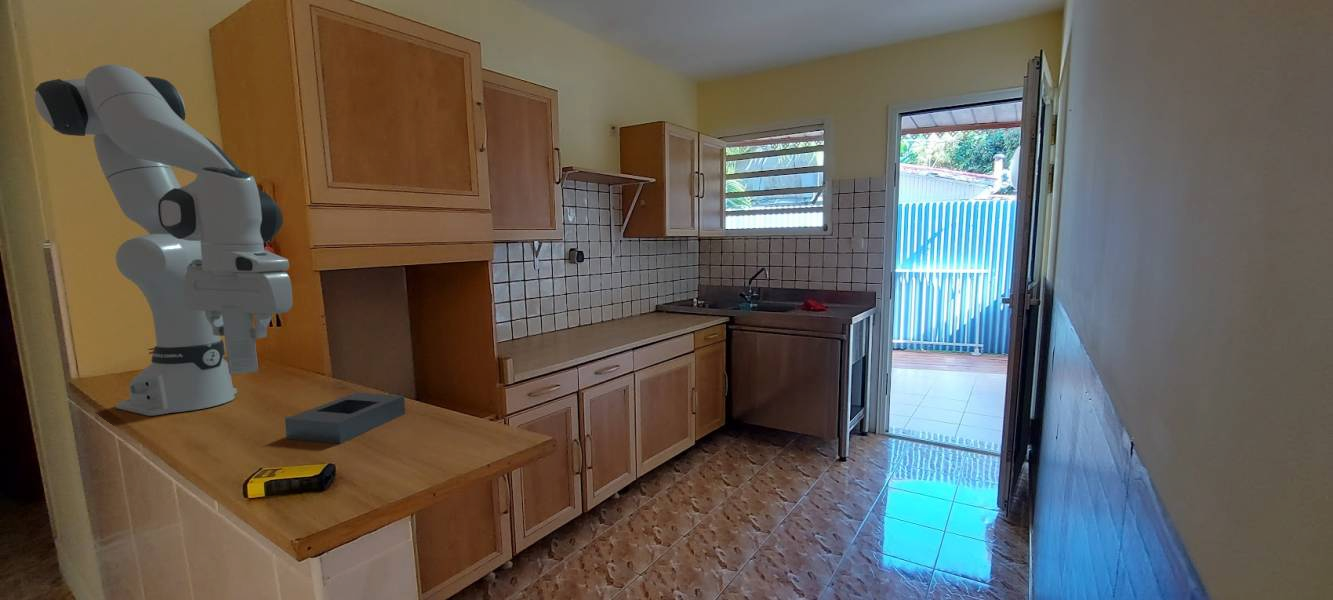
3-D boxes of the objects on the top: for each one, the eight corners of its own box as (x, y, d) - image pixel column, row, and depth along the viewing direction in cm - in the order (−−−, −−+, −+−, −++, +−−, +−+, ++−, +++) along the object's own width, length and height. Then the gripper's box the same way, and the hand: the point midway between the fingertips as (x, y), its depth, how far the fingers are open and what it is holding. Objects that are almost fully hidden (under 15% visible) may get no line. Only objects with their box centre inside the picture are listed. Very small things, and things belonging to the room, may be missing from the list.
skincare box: (227, 368, 100) (221, 304, 98) (256, 365, 102) (250, 302, 101) (228, 375, 95) (221, 308, 94) (258, 371, 98) (252, 306, 96)
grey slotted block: (286, 438, 103) (284, 418, 103) (357, 409, 121) (356, 392, 120) (340, 443, 101) (338, 423, 100) (405, 413, 118) (404, 395, 118)
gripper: (168, 259, 96) (175, 336, 97) (264, 262, 91) (270, 342, 93) (205, 258, 102) (211, 330, 103) (297, 260, 98) (301, 336, 99)
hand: (240, 336), depth 98 cm, fingers closed on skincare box, 7 cm apart
